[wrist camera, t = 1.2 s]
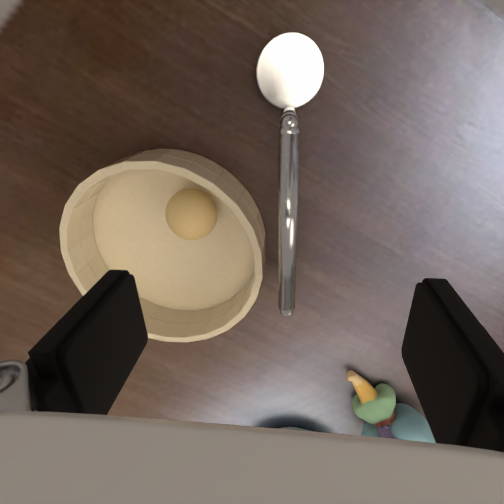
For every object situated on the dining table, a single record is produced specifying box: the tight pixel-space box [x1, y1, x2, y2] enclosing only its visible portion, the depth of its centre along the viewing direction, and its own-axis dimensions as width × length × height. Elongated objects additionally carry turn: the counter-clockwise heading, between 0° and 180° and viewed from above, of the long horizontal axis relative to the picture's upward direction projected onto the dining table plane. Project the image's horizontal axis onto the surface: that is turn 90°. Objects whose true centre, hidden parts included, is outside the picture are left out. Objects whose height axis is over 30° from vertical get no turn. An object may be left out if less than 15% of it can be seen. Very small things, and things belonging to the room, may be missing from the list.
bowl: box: [59, 149, 266, 342], centre depth 28 cm, size 16×16×4 cm
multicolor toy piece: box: [346, 370, 436, 443], centre depth 33 cm, size 7×9×12 cm
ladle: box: [256, 31, 325, 317], centre depth 23 cm, size 18×4×7 cm, turn 2°
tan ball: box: [165, 189, 217, 240], centre depth 26 cm, size 4×4×4 cm
